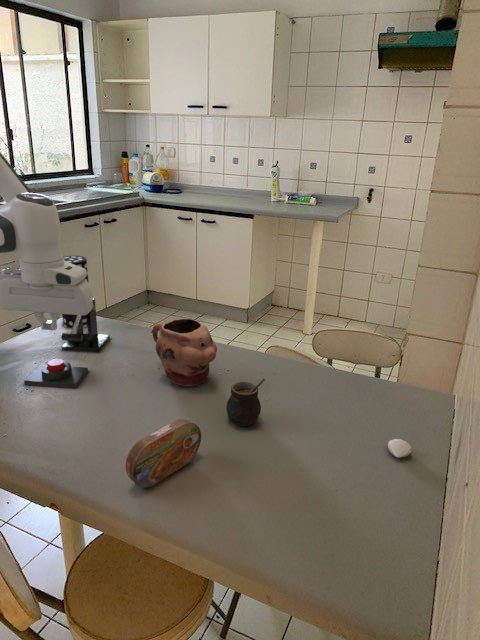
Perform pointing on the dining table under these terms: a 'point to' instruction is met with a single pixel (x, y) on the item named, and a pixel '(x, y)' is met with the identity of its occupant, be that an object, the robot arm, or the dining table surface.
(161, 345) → the character head mug
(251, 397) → the mate gourd
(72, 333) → the toast lever
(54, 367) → the button
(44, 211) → the robot arm
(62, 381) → the button housing
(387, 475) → the dining table surface
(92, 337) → the lever bracket
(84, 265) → the spotted tube
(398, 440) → the white pebble
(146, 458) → the tin
